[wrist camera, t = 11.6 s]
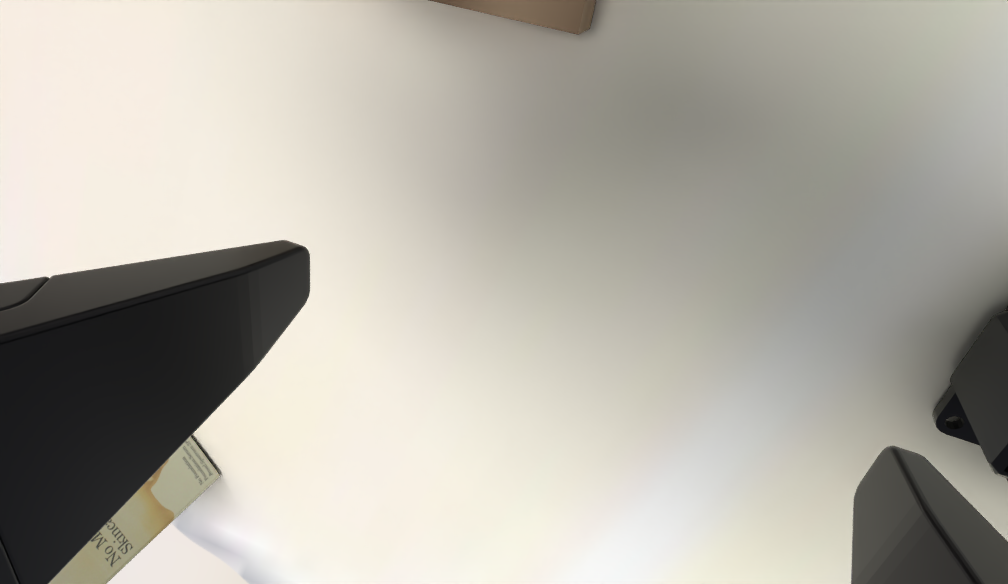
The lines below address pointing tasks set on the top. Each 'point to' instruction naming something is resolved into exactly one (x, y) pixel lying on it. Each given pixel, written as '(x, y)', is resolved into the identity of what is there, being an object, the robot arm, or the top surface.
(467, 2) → the display stand
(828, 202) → the top surface
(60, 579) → the skincare box
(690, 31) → the top surface
